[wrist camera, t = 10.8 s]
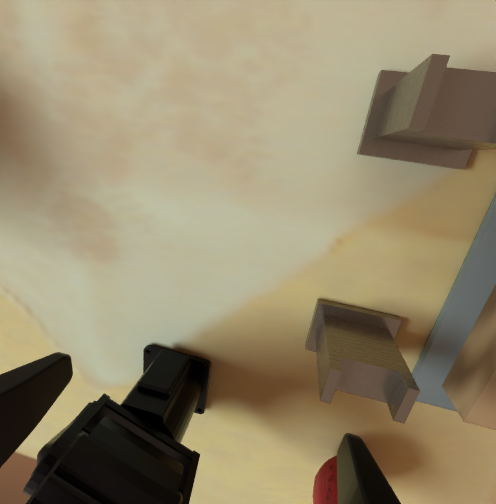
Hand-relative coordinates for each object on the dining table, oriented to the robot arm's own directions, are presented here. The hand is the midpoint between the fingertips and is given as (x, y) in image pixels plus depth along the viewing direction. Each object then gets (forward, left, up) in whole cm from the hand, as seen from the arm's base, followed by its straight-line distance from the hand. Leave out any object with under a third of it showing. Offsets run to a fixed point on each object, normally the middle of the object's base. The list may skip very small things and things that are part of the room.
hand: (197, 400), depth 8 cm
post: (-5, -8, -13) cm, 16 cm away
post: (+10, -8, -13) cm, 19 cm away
